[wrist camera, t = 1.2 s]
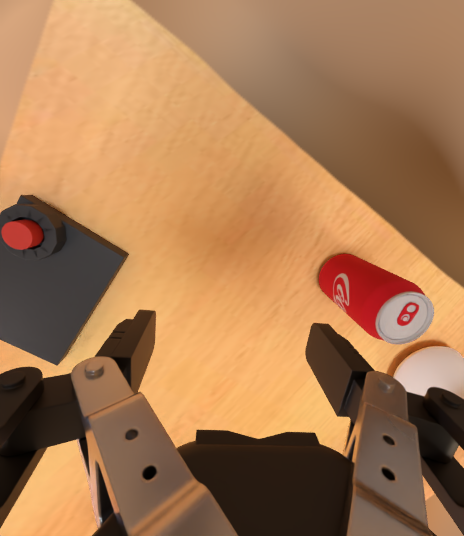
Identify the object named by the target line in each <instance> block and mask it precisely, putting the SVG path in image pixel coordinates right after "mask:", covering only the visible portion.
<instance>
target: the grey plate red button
mask: <svg viewBox="0 0 464 536" xmlns="http://www.w3.org/2000/svg"><path fill="white" fill-rule="evenodd" d="M18 220H31V221H34V222H36V223H37V224H38V225H39V226H40V227H41V228H42V230H43V234H44V238H43V241H42V242H41V243H40V244H39V245H37V246H33V247H30V248H27V249H23V250H19V249H14V248H12V247H10V246H9V245H8V244H7V243H6V242H5V241H4V239H3V237H2V228H3V226H4V225H5V224H6V223H8V222H12V221H18ZM128 255H129V254H128V253H126V252H124V251H123V250H121V249H119V248H118V247H116V246H115V245H113V244H111V243H110V242H108V241H106V240H105V239H103V238H101V237H100V236H98V235H96V234H95V233H93V232H92V231H90V230H88V229H87V228H85V227H83V226H82V225H80V224H78V223H77V222H75V221H74V220H72V219H70V218H69V217H67V216H65V215H64V214H62V213H60V212H59V211H57V210H56V209H54V208H52V207H51V206H49V205H47V204H46V203H44V202H42V201H41V200H39V199H37V198H36V197H34V196H33V195H21V196H20V198H19V200H18V202H17V204H16V205H13V206H11V207H9V208H7V209H5V210H3V211H2V212H1V214H0V340H2V341H5V342H7V343H9V344H11V345H13V346H16V347H18V348H20V349H22V350H24V351H26V352H29V353H31V354H33V355H35V356H37V357H40V358H42V359H44V360H46V361H48V362H50V363H53V364H55V365H58V364H59V363H60V362H61V361H62V360H63V359H64V358H65V356H66V355H67V353H68V351H69V350H70V348H71V346H72V345H73V343H74V342H75V340H76V338H77V337H78V335H79V334H80V332H81V330H82V329H83V327H84V326H85V324H86V322H87V321H88V319H89V318H90V316H91V314H92V313H93V311H94V310H95V308H96V306H97V305H98V303H99V301H100V300H101V298H102V297H103V295H104V293H105V292H106V290H107V289H108V287H109V285H110V284H111V282H112V281H113V279H114V277H115V276H116V274H117V273H118V271H119V269H120V268H121V266H122V265H123V263H124V261H125V260H126V258H127V256H128Z"/></svg>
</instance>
